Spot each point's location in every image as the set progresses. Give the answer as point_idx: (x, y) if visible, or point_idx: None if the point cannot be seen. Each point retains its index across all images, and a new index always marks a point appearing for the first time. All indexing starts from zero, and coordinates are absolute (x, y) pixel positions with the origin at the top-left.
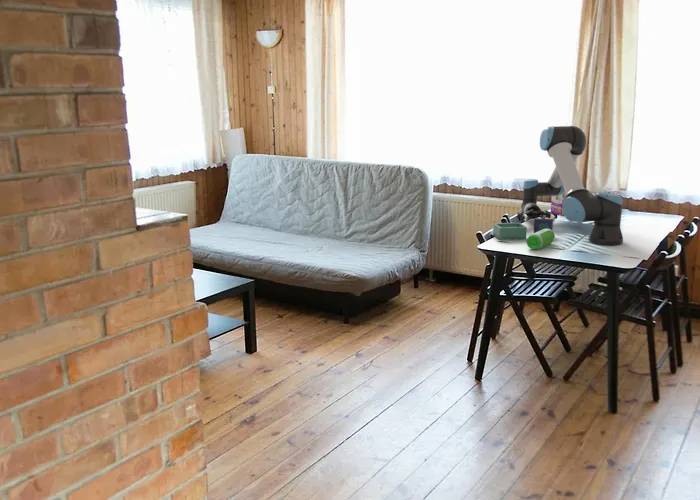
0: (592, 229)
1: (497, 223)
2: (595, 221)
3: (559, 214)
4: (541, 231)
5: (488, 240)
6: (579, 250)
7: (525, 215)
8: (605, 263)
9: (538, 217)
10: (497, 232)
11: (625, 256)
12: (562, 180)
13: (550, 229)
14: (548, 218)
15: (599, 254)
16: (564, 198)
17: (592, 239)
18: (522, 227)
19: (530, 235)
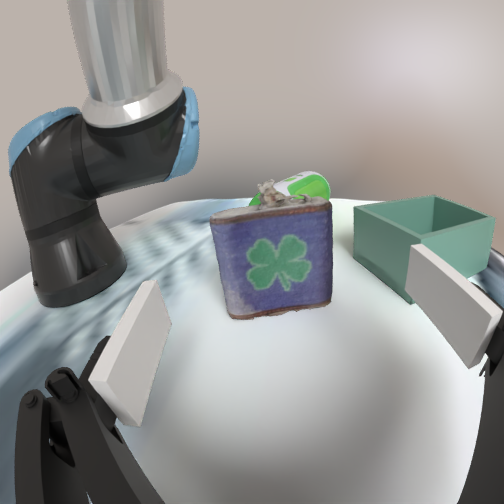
0: (100, 237)
1: (485, 218)
2: (93, 204)
3: None
4: (292, 177)
5: None
6: (202, 225)
7: (442, 261)
8: (194, 202)
9: (306, 198)
10: (450, 224)
11: (136, 223)
12: (163, 10)
13: (260, 193)
14: (238, 214)
15: (174, 220)
16: (181, 90)
17: (123, 254)
18: (370, 205)
19: (321, 175)
